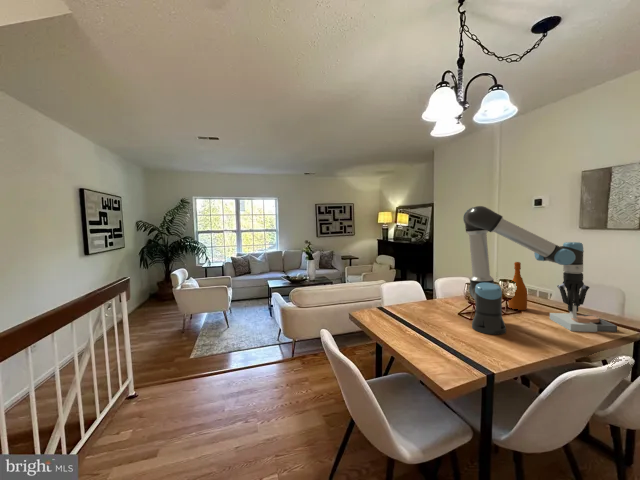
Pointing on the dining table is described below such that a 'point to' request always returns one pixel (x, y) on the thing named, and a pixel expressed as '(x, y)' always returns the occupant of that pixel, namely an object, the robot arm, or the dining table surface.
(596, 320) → the tile far
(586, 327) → the board
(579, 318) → the tile near
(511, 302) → the wine bottle
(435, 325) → the dining table surface
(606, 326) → the tray
